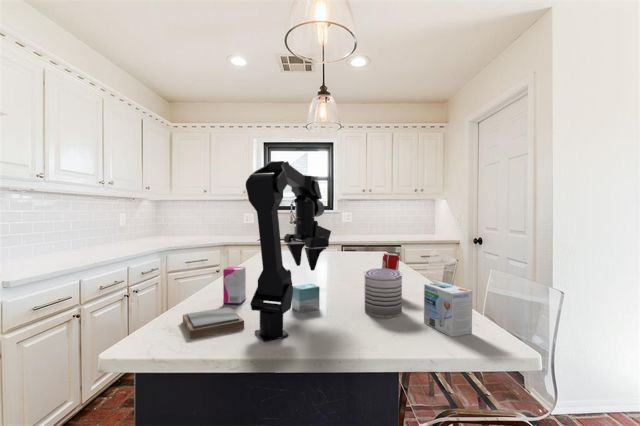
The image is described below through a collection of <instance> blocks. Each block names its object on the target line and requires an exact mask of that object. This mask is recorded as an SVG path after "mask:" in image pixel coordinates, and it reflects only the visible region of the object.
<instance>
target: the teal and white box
mask: <svg viewBox="0 0 640 426" xmlns="http://www.w3.org/2000/svg"><path fill="white" fill-rule="evenodd" d="M292 286H293V296H292V303H291V309H292V310H294V311H296V312H297V313H299V314H300V313H305V312H310V311H317V310H320V286H319V285H318V284H317V285H316V284H314V283H305V284H299V285H297V284H296V285H292Z"/></svg>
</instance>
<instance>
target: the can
mask: <svg viewBox="0 0 640 426" xmlns="http://www.w3.org/2000/svg"><path fill="white" fill-rule="evenodd" d="M363 273H364V312H365V314H368V315H370V316H373V317H378V318H392V317H393V318H394V317H398V316H400V315H401V314H402V312H403V309H402V308H403V307H402V304H403V301H402V299H403V293H402V292H403V288H402V287H403V280H402V279H403V273H402V272H401V271H400V270H399V269H398V270H392V269H387V268H382V267H381V268H371V269H368V270H365V271H363Z"/></svg>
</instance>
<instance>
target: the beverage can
mask: <svg viewBox="0 0 640 426" xmlns="http://www.w3.org/2000/svg"><path fill="white" fill-rule="evenodd" d="M399 264H400V257H399V254H397V253H392V252H384V253H383V256H382V261H381V269H382V268H387V269H392V270H398V271H399Z"/></svg>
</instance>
